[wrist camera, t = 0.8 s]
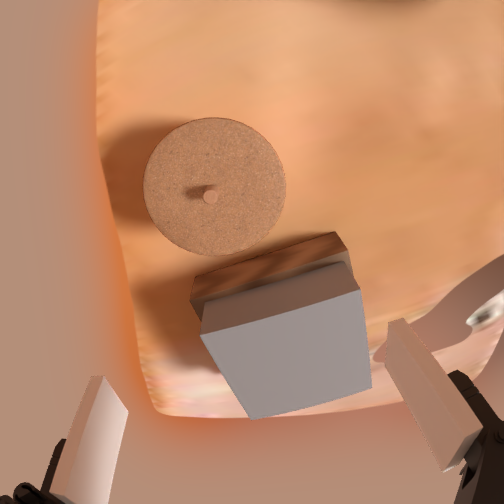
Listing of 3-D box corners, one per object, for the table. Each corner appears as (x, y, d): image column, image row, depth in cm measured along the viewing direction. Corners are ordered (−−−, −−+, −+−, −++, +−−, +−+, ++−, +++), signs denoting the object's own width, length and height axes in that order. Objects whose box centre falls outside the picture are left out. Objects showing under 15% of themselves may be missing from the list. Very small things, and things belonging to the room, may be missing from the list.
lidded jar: (281, 120, 27) (298, 125, 19) (269, 226, 32) (279, 271, 24) (167, 114, 27) (135, 117, 18) (165, 219, 31) (139, 261, 23)
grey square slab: (343, 260, 29) (360, 289, 24) (360, 357, 35) (372, 387, 30) (204, 302, 30) (199, 335, 26) (250, 388, 36) (251, 420, 32)
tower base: (334, 229, 33) (347, 250, 28) (357, 335, 40) (367, 360, 35) (195, 275, 35) (189, 300, 30) (245, 368, 42) (245, 395, 37)
